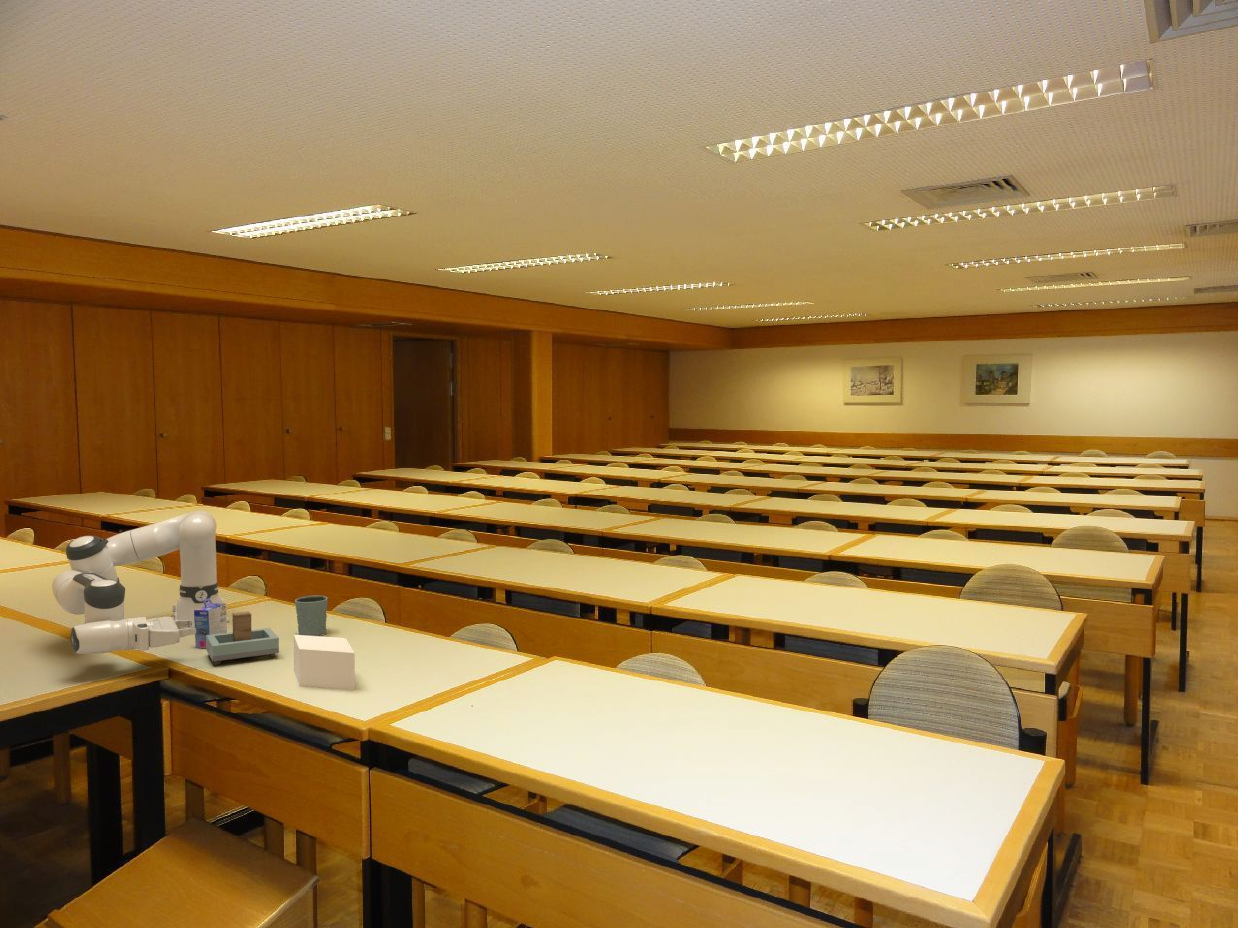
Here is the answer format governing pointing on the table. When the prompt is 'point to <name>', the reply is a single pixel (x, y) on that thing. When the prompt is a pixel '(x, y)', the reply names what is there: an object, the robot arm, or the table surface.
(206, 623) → the ink cartridge box
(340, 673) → the white rectangular block
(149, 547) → the robot arm
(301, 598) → the grey tapered cup
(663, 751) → the table surface
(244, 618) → the walnut part
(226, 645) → the grey storage tray
